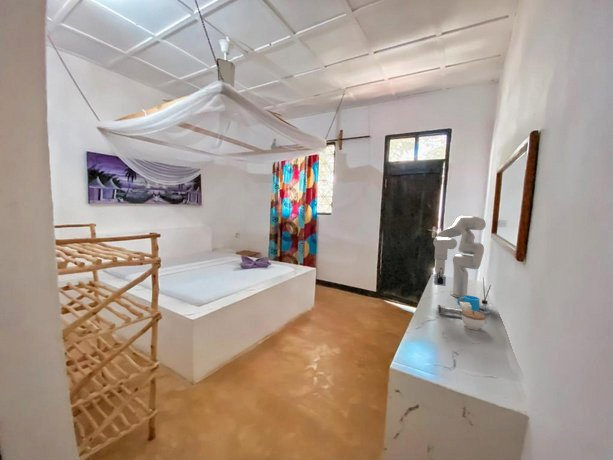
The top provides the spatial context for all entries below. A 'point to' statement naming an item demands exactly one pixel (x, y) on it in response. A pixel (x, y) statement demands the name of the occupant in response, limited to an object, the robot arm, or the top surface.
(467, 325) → the lidded jar
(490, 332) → the top surface
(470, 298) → the mug
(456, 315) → the rail plate
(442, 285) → the block
